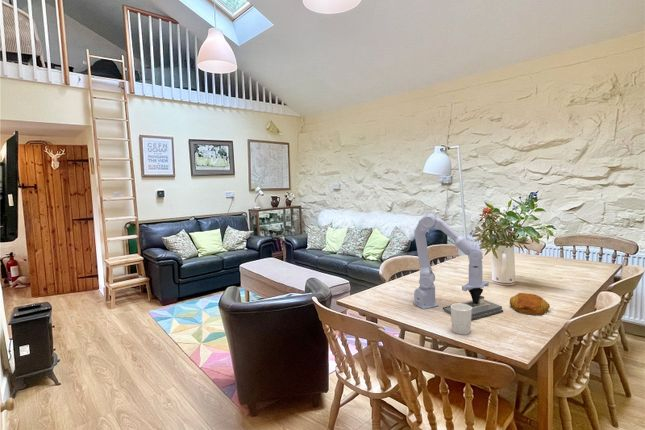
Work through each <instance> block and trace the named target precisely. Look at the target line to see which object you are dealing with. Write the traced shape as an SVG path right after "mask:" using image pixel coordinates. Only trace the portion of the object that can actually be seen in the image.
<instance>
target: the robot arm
mask: <svg viewBox="0 0 645 430" xmlns="http://www.w3.org/2000/svg"><path fill="white" fill-rule="evenodd" d="M432 228H433V229H434V230H438V231H441V232H442V233H444V234H445V235H446V236H448V237H449V238H450V239H451V240H452V241H454V246H455V247H456V248H458V250H460V251H461V252H462V253H463V254H464V255H466V256H467V258H468V282H467V283H466V284H464V285H461V291H463V292H467V291H468V292H469V294H470V297H471V299H472V300H471V301H473V303H474V304H478V300H479V297H480V295H481V296H482V294H483V292H484V287H489V284H490V282H489V281H486V280H484V281H483V257H484V256H483V251H482V249H481V248H480V247H478V246H477V245H476V244H474V243H472V242H471V241H470V240H469V237H468V236H466V237H465V236H464V235H459V234H458V233H457V232H456V231H455V230H454V229H452V228H451V226H449V225H448V223H446V222H445V221H444V220H443V219H442V218H440V217H438V216H437V215H436V214H435V213H432V212H429V213H426V214H425V215H423V216H422V217H421V218H420V219H419V220H418V223H417V224H416V227H415V229H414V239H415V245H416V250H417V251H416V252H417V257H418V263H419V278H418V284H419V287H418V288H416V289H414V297H413V298H414V299H413V300H414V301H413V305H415V306H417V307H419V308H421V309H423V310H427V309H429V308H434V307H439V306H440V303H437V302H436V285H435V284H434V282H435V281H436V276H435V273H434V272H433V269H432V266H431V262H430V254H429V248H428V244H427V243H428V242H427V237H426V234H427V232H428V231H429V230H431V229H432Z"/></svg>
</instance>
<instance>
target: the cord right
mask: <svg viewBox="0 0 645 430" xmlns="http://www.w3.org/2000/svg"><path fill="white" fill-rule="evenodd" d="M503 312H504V309H502V310H498V311H494V312H491V313H487V314H483V315H480V316H476V317H472V318H471V322H472V321H475V320H479V319H481V318H485V317H489V316H492V315H495V314H496V315H497V314H500V313H503Z"/></svg>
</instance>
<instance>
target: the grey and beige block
mask: <svg viewBox="0 0 645 430" xmlns="http://www.w3.org/2000/svg"><path fill="white" fill-rule="evenodd" d="M484 300H485V296H483V295H482V294H481V295H480V297H479V300H478V304H474V305H475V306H479V305H483V304H484Z"/></svg>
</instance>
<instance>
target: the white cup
mask: <svg viewBox="0 0 645 430" xmlns="http://www.w3.org/2000/svg"><path fill="white" fill-rule="evenodd" d="M460 303H461V302H460ZM460 303H453V304H451V305H450V306H451V315H450V319H451V320H450V321H451V329H452V332H453V333H455V334H457V335H461V336H462V335H465V336H466V335H469V334H470V333H471V326H472V321H471V317H472V307H471V306H469V305H466V304H460ZM472 318H473V317H472Z"/></svg>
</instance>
